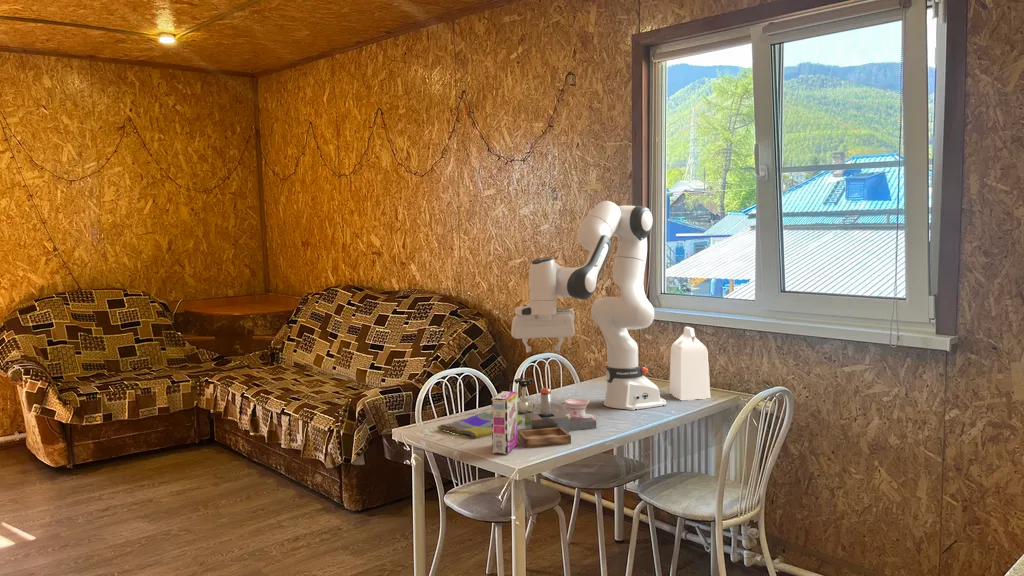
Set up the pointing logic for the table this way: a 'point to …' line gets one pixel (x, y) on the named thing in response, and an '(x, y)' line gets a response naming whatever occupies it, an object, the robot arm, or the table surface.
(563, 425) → the hitch block
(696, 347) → the milk
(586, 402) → the teacup
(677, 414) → the table surface
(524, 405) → the valve
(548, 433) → the tray
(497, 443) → the candy bar box
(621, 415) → the table surface
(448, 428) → the dish towel
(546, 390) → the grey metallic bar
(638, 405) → the robot arm
